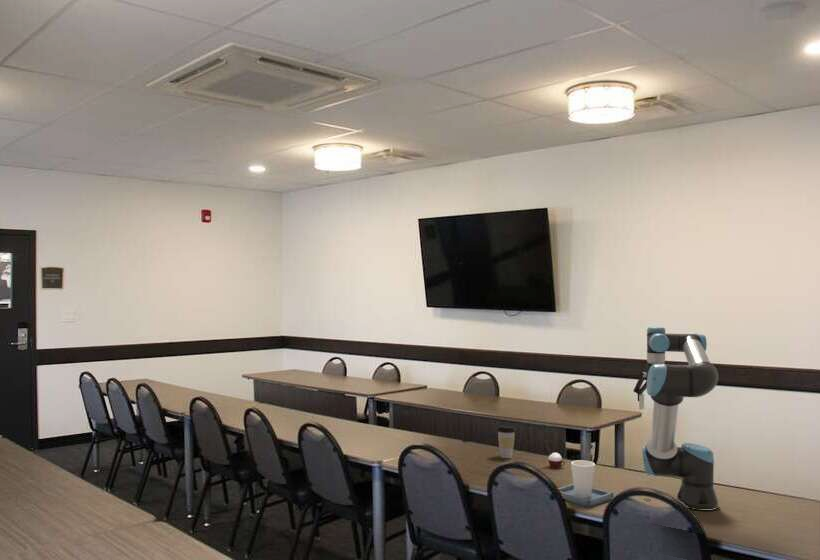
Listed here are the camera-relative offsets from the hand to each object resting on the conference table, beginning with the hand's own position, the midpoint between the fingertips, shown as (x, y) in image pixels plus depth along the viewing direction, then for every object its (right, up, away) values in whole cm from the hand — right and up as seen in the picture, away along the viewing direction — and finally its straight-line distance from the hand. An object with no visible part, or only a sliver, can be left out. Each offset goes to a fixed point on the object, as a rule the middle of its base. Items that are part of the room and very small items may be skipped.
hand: (655, 411), depth 297 cm
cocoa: (-38, -32, +27) cm, 56 cm away
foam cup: (-36, -31, -19) cm, 51 cm away
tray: (-36, -32, -19) cm, 52 cm away
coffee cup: (-59, -31, +45) cm, 80 cm away
